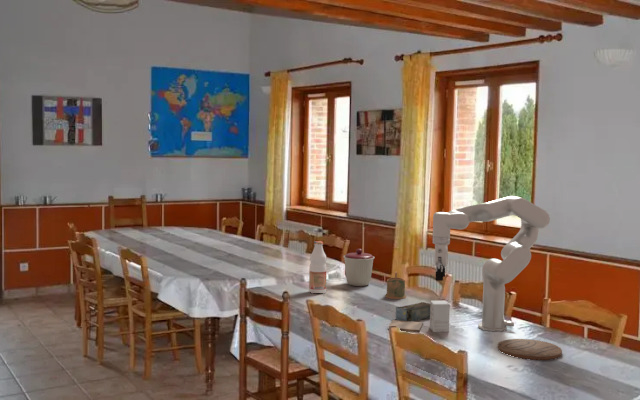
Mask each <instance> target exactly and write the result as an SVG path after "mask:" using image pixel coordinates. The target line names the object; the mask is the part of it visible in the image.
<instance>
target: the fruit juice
mask: <svg viewBox="0 0 640 400" xmlns="http://www.w3.org/2000/svg"><path fill="white" fill-rule="evenodd" d="M313 245H314V247H313V250H312V252H311V253H310V256H309V261H310V265H309V268H308V270H309V271H308V277H309V278H308V292H309V293H310V292H311V293H310V294H313V293H323V294H325V292H327V264H326V262H327V254H326V252H325V251H324V248H323V247H324V246H323V245H324V242H323V241H320V240H319V241H318V240H317V241H313Z"/></svg>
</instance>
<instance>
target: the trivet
mask: <svg viewBox="0 0 640 400" xmlns="http://www.w3.org/2000/svg"><path fill="white" fill-rule="evenodd" d="M497 350H498V351H499V350H500V351H501V352H503V353H505V354H508V355H511V356H514V357H513V358H515V357H518V358H517V359H520V358H522V359H521V360H527V359H530V360H529V361H551V360H550V359H553V360H556V359H555V358H557V359H559V358H561V357H562V356H563V355H562V354H563V349H562V348H561V347H559V346H558V345H557V344H553V343H551V342H547V341H542V340H538V339H532V338H531V339H529V338H509V339H503V340H501V341H499V342H498V343H497ZM500 351H499V352H500ZM501 352H500V353H501ZM503 353H502V354H503ZM505 354H504V355H505ZM508 355H507V356H508ZM511 356H510V357H511ZM560 356H561V357H560ZM558 357H559V358H558Z"/></svg>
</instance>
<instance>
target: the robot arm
mask: <svg viewBox="0 0 640 400" xmlns="http://www.w3.org/2000/svg"><path fill="white" fill-rule="evenodd" d="M510 216H515V217H518V218H519V219H520V222H521V223H520V228H519V231H518V232H517V233H516V235H514V236H513V238H511V239H510V240H509V241H508V242H507V244H505V245H504V246H503V247H502V249H501V252H500V256H501V259H502V260H501V259H499V258H489V259H487V260H486V261H485V262H484V263H483V265H482V269H481V271H482V280H483V281H482V282H483V283H482V284H483V292H482V311H481V313H482V314H481V315H482V316H481V322H479V323H478V325H477V327H478V328H479V329H480V330H482V331H483V330H484V331H487V332H488V331H489V332H504V330H505V331H507V328H508V327H507V326H509V327H515V323H514V321H511V320H506V319H505V317H504V316H505V301H506V299H505V298H506V287H505V285H506V284H509V283H510V282H512V281H513V280H514V279H515V278H516V277H517V276H518V275H519V274H520V273H521V272H522V271H523V270H524V269H525V268H526V267H527V266H528V265H529V263H530V262H531V259H532V252H531V250H530V249H531V248H532V247H533V245H535V243H536V242H537V239H538V237H539V230H540V229H541V230H542V229H544V228H546V227H547V226H548V225H549V224H550V221H551V217H550V214H549V213H548V212H547V211H546V210H545V209H543V208H541V207H540V206H538V205H536V204H534V203H533V202H531V201H529V200H528V199H525V198H523V197H520V196H515V195H509V196H506V197H502V198H499V199H494V200H491V201H488V202H487V201H486V202H482V203H477V204H473V205H467V206H463V207H459V208H455V209H453V210H452V209H451V210H450V211H448V212H445V211H438V212H437V211H436V212H434V213H433V217H432V219H433V220H432V244H434V266H435V281H439V282H442V281H444V277H445V276H446V267H447V266H448V262H449V254H448V253H449V252H448V251H449V249H448V246H449V245H450V243H451V230H452V229H454V230H464V229H467V227H468V226H469V224H470V223H473V222H475V223H476V222H484V223H485V222H486V223H487V222H492V221H496V220H499V219H503V218H506V217H510Z"/></svg>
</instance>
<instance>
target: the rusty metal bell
mask: <svg viewBox="0 0 640 400" xmlns="http://www.w3.org/2000/svg"><path fill="white" fill-rule="evenodd" d="M405 290H406V280H405V279H403V278H401V277H398V272H397V271H395V272H394V277H390V278H388V279H387V280H386V293H385V295H384V297H385V298H386V299H392V300H404V299H406V298H407V295H406V291H405Z"/></svg>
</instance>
